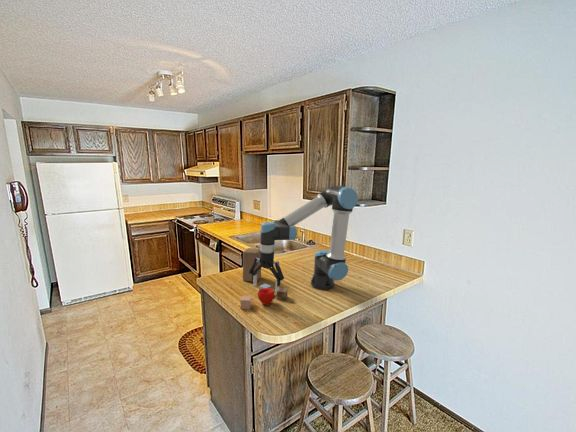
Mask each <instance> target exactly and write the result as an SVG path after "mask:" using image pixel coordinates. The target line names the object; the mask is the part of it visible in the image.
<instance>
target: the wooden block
mask: <svg viewBox="0 0 576 432" xmlns="http://www.w3.org/2000/svg"><path fill="white" fill-rule="evenodd" d="M260 252H261V251H260V248H253V247H252V248H251V247H248V248H246V249H245V250H244V251H243V252H242V281H243V282H252V283H253V280H252V274H251V273H249V271H250V269H251V267H252V265H253V264H254V260H255V258H257V257H258V258H259V259H260ZM259 265H260V262H258V263H257V265H256V267H255V269H254V271H255V270H256V269H257V268H258V267H259ZM256 274H257V282H258V281H259V280H260V279H261V277H262V268H261V269H260V270H259V271H258V272H257V273H256Z"/></svg>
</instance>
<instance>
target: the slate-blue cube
mask: <svg viewBox="0 0 576 432" xmlns="http://www.w3.org/2000/svg"><path fill="white" fill-rule="evenodd" d="M262 288H270V289H272V285H271V284H268V283H262V284H261V285H259V289H258V291H259V290H260V289H262Z"/></svg>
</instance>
